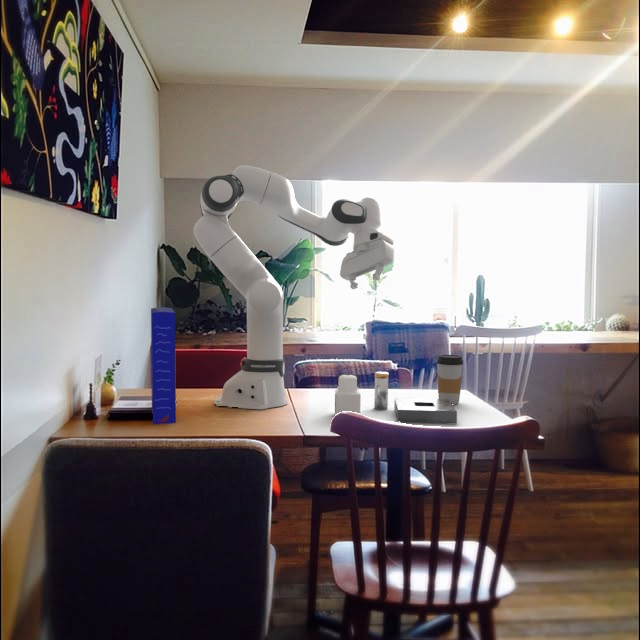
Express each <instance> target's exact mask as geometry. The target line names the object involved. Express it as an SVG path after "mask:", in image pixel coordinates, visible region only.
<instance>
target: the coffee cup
mask: <svg viewBox="0 0 640 640" xmlns="http://www.w3.org/2000/svg"><path fill="white" fill-rule="evenodd" d="M463 365H464V359H463V356H461V355H458V354H440V355H438V356H437V358H436V367H437V373H436V374H437V376H436V377H437V393H438V399H448V400H449V401H450V402H451V404H456V405H458V404H459V402H460V397H461V390H462V377H463V374H462V373H463V368H464V367H463ZM457 403H458V404H457Z"/></svg>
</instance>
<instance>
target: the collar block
mask: <svg viewBox="0 0 640 640" xmlns="http://www.w3.org/2000/svg"><path fill="white" fill-rule="evenodd" d="M393 405H394V410H393V411H394V413H395V418H396V420H397V422H398V421H400V422H399V423H409V424H411V423H414V424H415V423H416V424H444V423H457V422H458V419H457V418H458V411H457V409H456V408H455V406H454V405H452V404H451V402H450V401H449V400H448V399H439V398H408V397H407V398H403V397H394V403H393Z"/></svg>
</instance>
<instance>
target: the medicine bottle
mask: <svg viewBox="0 0 640 640" xmlns="http://www.w3.org/2000/svg"><path fill="white" fill-rule="evenodd" d="M336 379H337V381H336V382H337V384H336V387H337V388H336V389H335V390H334V415H335V414H337V413H339V412H342V411H352V412H357V413H360V414H361V401H362V399H361V390H360V389H359V376H358V375H356V374H354V373H341V374H339V375H337V377H336Z"/></svg>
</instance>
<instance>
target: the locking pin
mask: <svg viewBox="0 0 640 640" xmlns="http://www.w3.org/2000/svg"><path fill="white" fill-rule="evenodd" d="M388 396H389V372H388V371H375V372H374V405H373V407H374V408H373V409H374V410H377V411H386V410H388V407H389V406H388V405H389V404H388V402H389V401H388V400H389V399H388V398H389V397H388Z"/></svg>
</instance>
